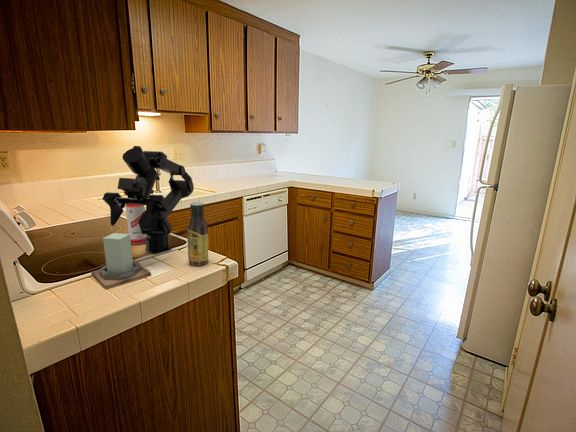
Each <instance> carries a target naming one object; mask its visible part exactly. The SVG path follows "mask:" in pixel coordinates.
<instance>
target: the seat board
mask: <svg viewBox="0 0 576 432" xmlns="http://www.w3.org/2000/svg"><path fill="white" fill-rule="evenodd" d="M133 268H134V267H133ZM141 268H142V269H141V270H140V271H139V272H138V273H137V274H136V275H135V276H132V277H129V278H125V279H122V280H104V279H103V278H102V277H101V276H100V275H99V270H100V269H97V270H92V271H91V276H92V278H94V279H95V280H96V282H98V283H99V284H100V285H101V286H102V287H103V288H104V289H105V290H109V289H112V288H115V287H118V286H122V285H125V284H128V283H131V282H135V281H139V280H141V279H144V278H148V277H152V273H151V271H149V270H148V269H146V268H145V267H144V266H143V265H141Z"/></svg>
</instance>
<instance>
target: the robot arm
mask: <svg viewBox="0 0 576 432" xmlns="http://www.w3.org/2000/svg"><path fill="white" fill-rule="evenodd" d="M122 160H123V162H124V163H125V164H126V166H127V167H128V169H129V170H130V171H131V172H132V173H133V174H135V175H136V176H135V178H132V177H131V178H129V177H119V179H118V184H117V189H118V190H122V191H123V194H124V195H125V197H123V196H122V195H121V194H120V193H119V192H108V191H107V192H105V193H104V195H103V196H102V201H103V202H104V203H106V204H107V206H108V207H109V209H110V210H109V211H110V225H111V227H114V226H115V225H116V224H117V222H118V220H119V219H120V218H121V216H122V215H123V213H124V211H125V210H124V209H125V208H126V204H134V205H144V206H145V212H143V213H142V214H143V215H142V216H141V217H140V219H139V226H140V229H141V232H142V234H146V235H147V238H146V239H145V240H146V242H145V250H147V251H148V252H150V254H151V253H152V255H153V254H154V255H155V254H159V253H162V252H166V251H170V250H172V248H171V247H170V246H169V235H172V232H173V231H172V230H173V226H172V224H171V222H169V220H168V217H169V216H170V214H171V213H172V212H173V210H174V209H175V208H176V207H177V205H179V203H180V202H181V201H182V199H185V198H188V197H189V196H190V195H192V193H193V192H194V190H195V185H194V182H193V178H192V176H190V174H189V173H188V172H186V168H185V166H184V165H182V164H181V165H180V163H179V164H178V163H176V162H174V161H172V160H171V159H168V156H167V154H165V153H164V152H163V151H159V150H157V151H156V150H155V151H153V150H143V148H142V147H141V146H140V145H134V146H133V147H132V148H131V149H127V150H126V151H125V152H124V153H123V154H122ZM156 169H157V170H159V171H163V172H166V173H167V174H169V175H170V178H169V180H168V184H169V188H170V191H169V192H168V193H167V195H166V196H165V197H164V196H163V194H155V193H154V192H155V190H154V189H153V188H154V186H155V183H156V181H160V180H161V179H160V175H159V173H158V171H157V170H156ZM174 176H180V177H181V178H182V179H183V180H180V179H174ZM126 196H127V197H126Z"/></svg>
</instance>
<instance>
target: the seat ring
mask: <svg viewBox="0 0 576 432" xmlns="http://www.w3.org/2000/svg"><path fill="white" fill-rule="evenodd" d="M141 266H142V264H141V263H139V262H138V261H136V260H133V267H134V269H132V270H130V271H126V272H123V273H107V265H106V264H105V265H104V266H103V267H101V268H99V269H98V270H99V275H100V276H101V277H102V278H103V279H104V280H122V279H125V278H129V277H132V276H135V275H136V274H137V273H138V272H139V271H140V270H141V269H142V268H141Z"/></svg>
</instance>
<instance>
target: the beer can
mask: <svg viewBox="0 0 576 432" xmlns="http://www.w3.org/2000/svg"><path fill="white" fill-rule="evenodd" d="M145 210H146V205H134V204H126V205H125V214H126V224H127V234H130V240H131V245H134V246H136V245H137V246H138V245H143V244H146V240H145V239H146V238H147V235H146V234H142V232H141V229H140V226H139V219H140V217H141V216H142V215H143V214H142V213H143V212H145Z"/></svg>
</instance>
